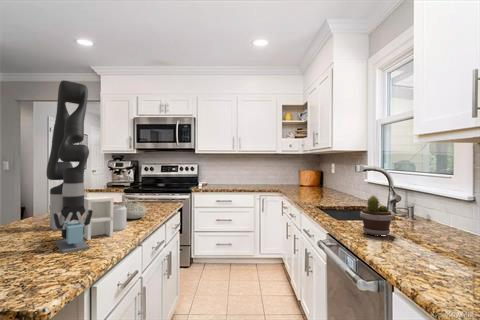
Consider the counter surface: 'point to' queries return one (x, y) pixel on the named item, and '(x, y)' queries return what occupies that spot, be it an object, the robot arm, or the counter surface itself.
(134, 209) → the decorative shell
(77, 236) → the block
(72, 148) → the robot arm
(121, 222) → the can
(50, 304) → the counter surface
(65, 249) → the mat
